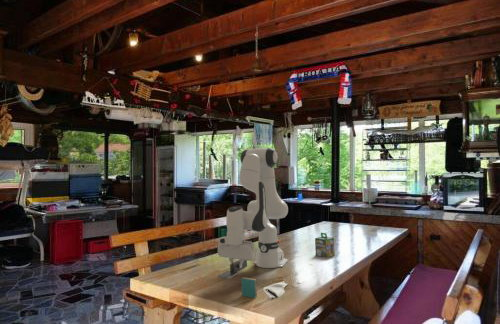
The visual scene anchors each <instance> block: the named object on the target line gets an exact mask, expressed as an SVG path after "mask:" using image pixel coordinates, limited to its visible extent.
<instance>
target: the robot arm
mask: <svg viewBox="0 0 500 324" xmlns="http://www.w3.org/2000/svg"><path fill="white" fill-rule="evenodd" d="M278 159H279V158H278V152H277V150H276V149H275V148H272V147H268V148H267V147H258V148H247V149H244V150H243V151H242V152H241V153H240V163H241V165H240V171H239V178H238V180H239V183H240V185H241V186H242V187H243V188H245V189H246V190H248V191H250V192H253V193H254V194H255V197H256V198H255V200H251V201H250V202H249V203H248V204H247V208H246V209H247V210H246V211H245V210H243V207H242V206H238V205H234V206H231V207H228V209H227V210H226V224H225V225H226V228H227V229H226V235H225V236H222V237H220V238H218V244H217V255H218V257H219V258H225V259H226V258H227V259H228V261H229V263H230V264H232V263H234V262H235V261H234V260H239V261H241V262H240V264H238V268H242V264H243V262H244V260H247V262H248V261H250V262H252V261H254V260H255V261H254V264H255V265H256V266H257V267H259V268H263V269H274V268H284V266H285V265H286V264H287V262H288V261H289V259H288V258H285V253H284V250H282V249H281V248H280V246H279V245H280V244H281V240H279V239H278V230H277V226H275V225H274V224H272V223H271V221H270V220H269V219H272V220H275V219H276V220H279V219H284V218H286V216H287V215H288V213H289V207H288V203H286V202H285V201H284V200H283V199H282V198H281V197H280V195H279V194H278V192H277V187H276V176H275V175H276V174H275V168H274V166H276V165H277V162H278ZM245 231H253V232H258V241H257V247H258V249H257V250H255V243H254V242H252V240H246V239H245V235H246V234H245Z"/></svg>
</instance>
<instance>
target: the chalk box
mask: <svg viewBox="0 0 500 324" xmlns="http://www.w3.org/2000/svg"><path fill="white" fill-rule="evenodd" d="M314 243H315V244H314V245H315V246H314V247H315V256H319V257H323V258H329V257H332V256H335V254H336V253H335V252H336V251H335V238H334V237H331V236H327V233H326V232H320V236H318V237H315V238H314Z"/></svg>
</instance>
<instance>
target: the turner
mask: <svg viewBox="0 0 500 324" xmlns="http://www.w3.org/2000/svg"><path fill="white" fill-rule="evenodd" d="M240 262H241V261H239V259H237V261H234V263H232V264H231V263H230V264H229V269H230V270H226V271H224V272H222V273H221V274H218V275H217V278H219V279H226V280H230V279H232V278H234V277H235V276H237V275H238V274H239V273H238V272H240V271H242V270H244V269H246V268H247V267H248V260H244V262H243V264H242V268H238V264H240Z"/></svg>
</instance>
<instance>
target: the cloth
mask: <svg viewBox="0 0 500 324" xmlns="http://www.w3.org/2000/svg"><path fill="white" fill-rule="evenodd" d="M288 285H289V284H288V283H285V281H280V282H275V283H273V284H269V285H267V286H265V287H263V292H264V293H265V294H266V295H267V297H268V299H270V301H272V298H274V299H275V298H280V297H281V296H283V295H284V293H285V292H286V291H285V287H286V286H288ZM267 290H268V291H267ZM269 291H270V292H269Z"/></svg>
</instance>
